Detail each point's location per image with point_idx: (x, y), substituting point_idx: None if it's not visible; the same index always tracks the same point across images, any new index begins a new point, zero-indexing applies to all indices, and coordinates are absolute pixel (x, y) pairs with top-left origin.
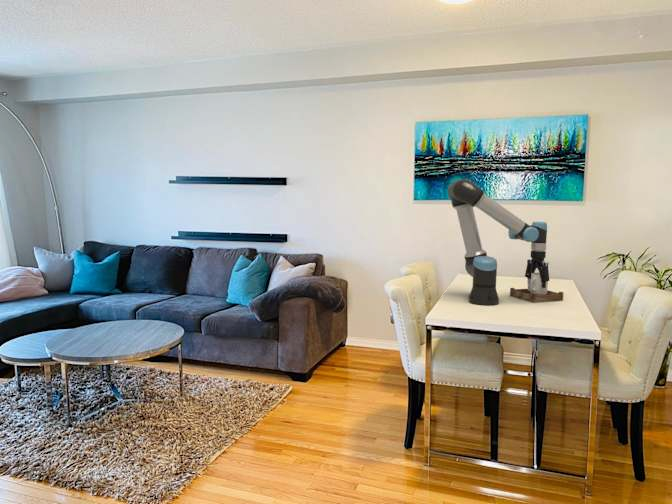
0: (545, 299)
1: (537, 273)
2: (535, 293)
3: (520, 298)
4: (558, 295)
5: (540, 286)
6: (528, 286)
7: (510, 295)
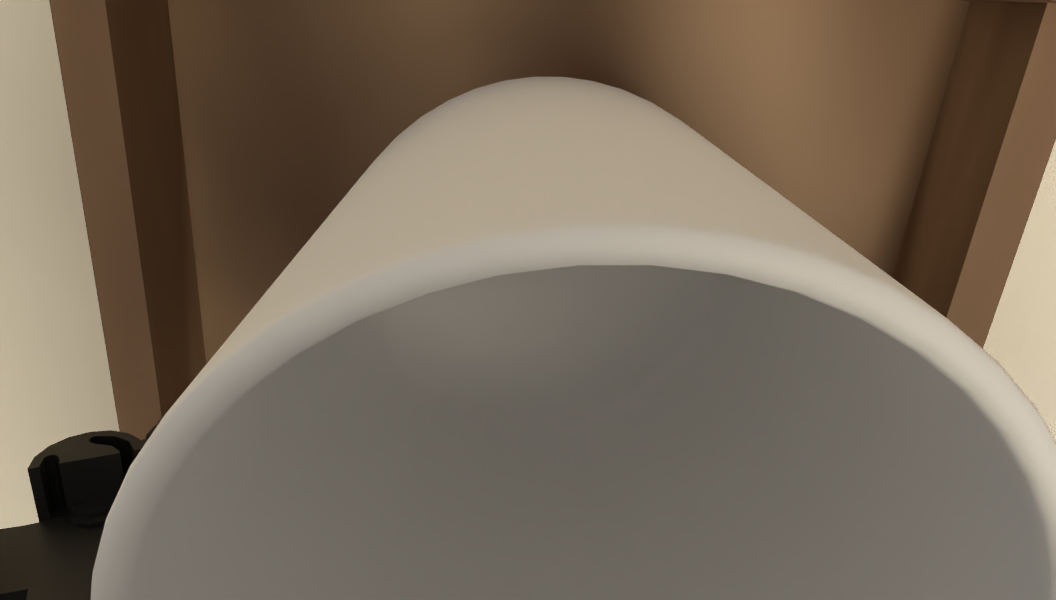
0: None
1: (166, 498)
2: (613, 430)
3: None
4: (1053, 91)
5: None
6: None
7: None
